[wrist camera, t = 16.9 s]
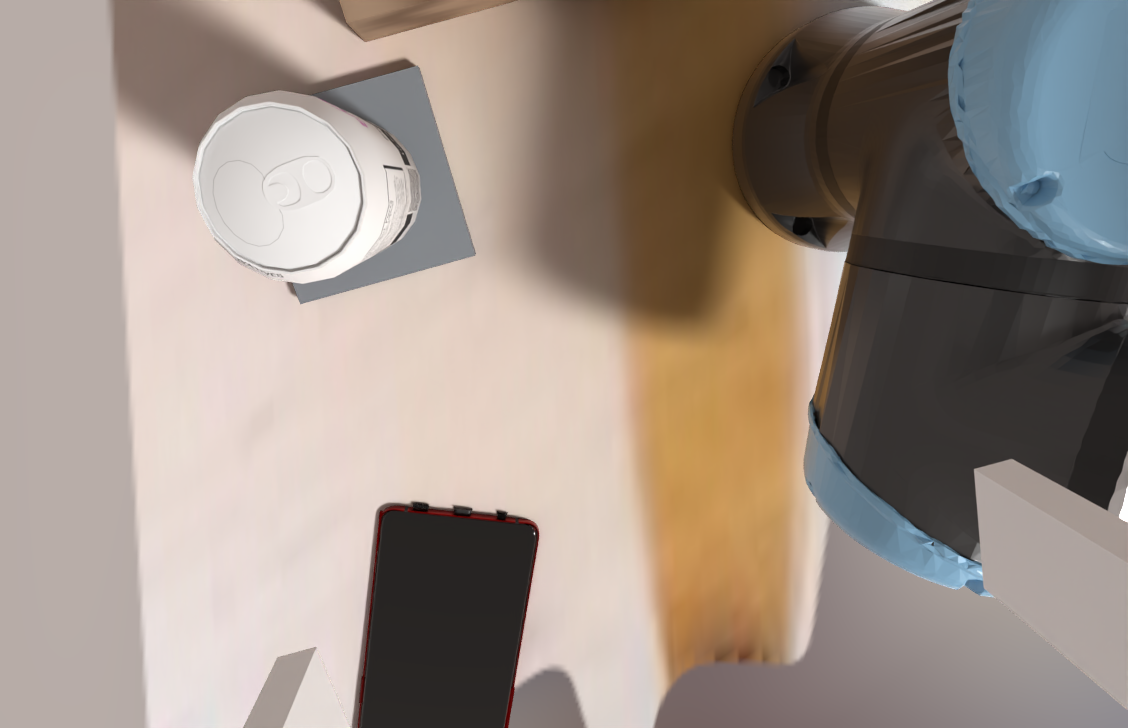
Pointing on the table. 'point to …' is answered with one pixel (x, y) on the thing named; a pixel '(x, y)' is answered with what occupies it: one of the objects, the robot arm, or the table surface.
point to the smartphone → (446, 618)
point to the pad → (440, 215)
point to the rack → (405, 14)
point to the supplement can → (303, 186)
